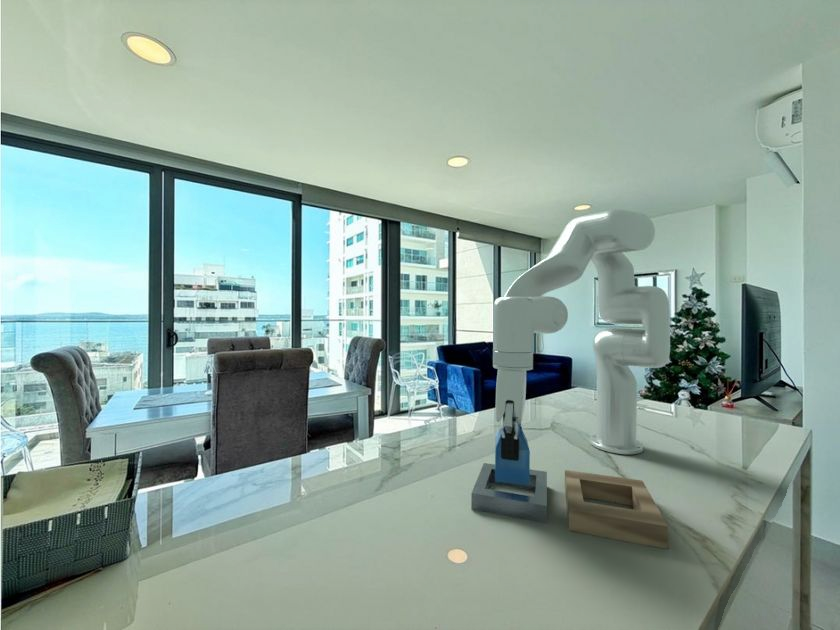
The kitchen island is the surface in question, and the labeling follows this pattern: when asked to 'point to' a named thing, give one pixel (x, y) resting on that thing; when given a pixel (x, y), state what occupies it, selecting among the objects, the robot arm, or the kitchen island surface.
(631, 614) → the kitchen island surface
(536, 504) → the block
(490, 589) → the kitchen island surface
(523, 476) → the perfume bottle
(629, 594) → the kitchen island surface
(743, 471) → the kitchen island surface
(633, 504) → the tan square frame
